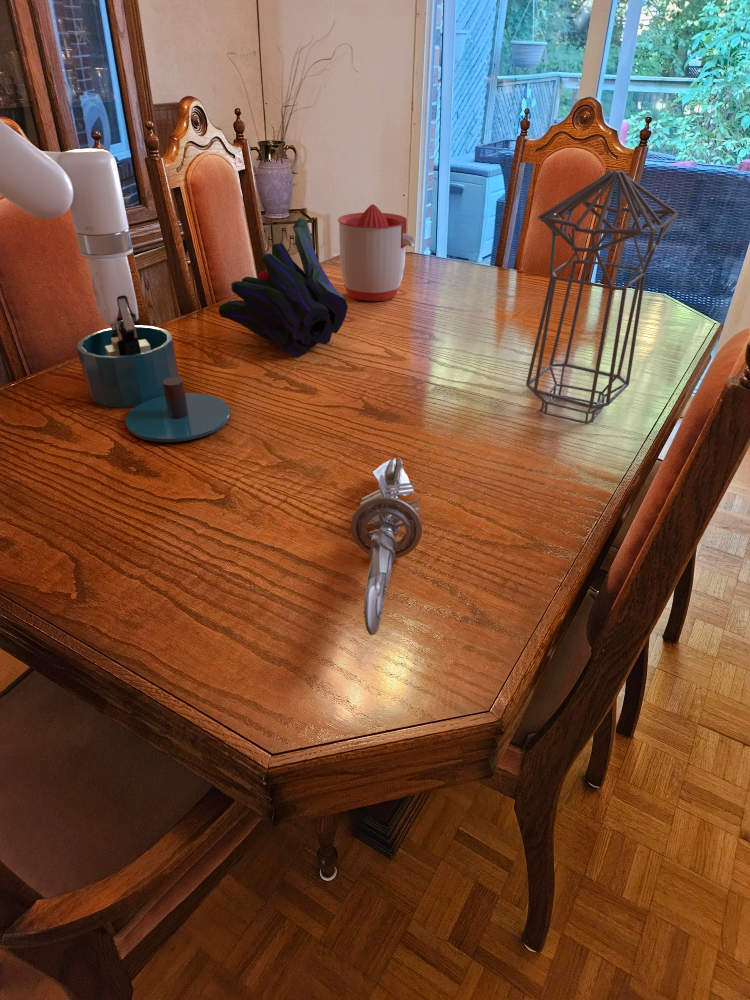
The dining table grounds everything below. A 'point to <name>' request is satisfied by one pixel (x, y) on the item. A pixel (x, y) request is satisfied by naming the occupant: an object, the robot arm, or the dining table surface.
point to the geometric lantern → (549, 219)
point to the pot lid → (177, 415)
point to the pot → (127, 368)
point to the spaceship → (385, 534)
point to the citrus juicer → (373, 253)
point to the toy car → (114, 350)
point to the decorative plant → (289, 299)
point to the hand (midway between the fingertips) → (129, 358)
